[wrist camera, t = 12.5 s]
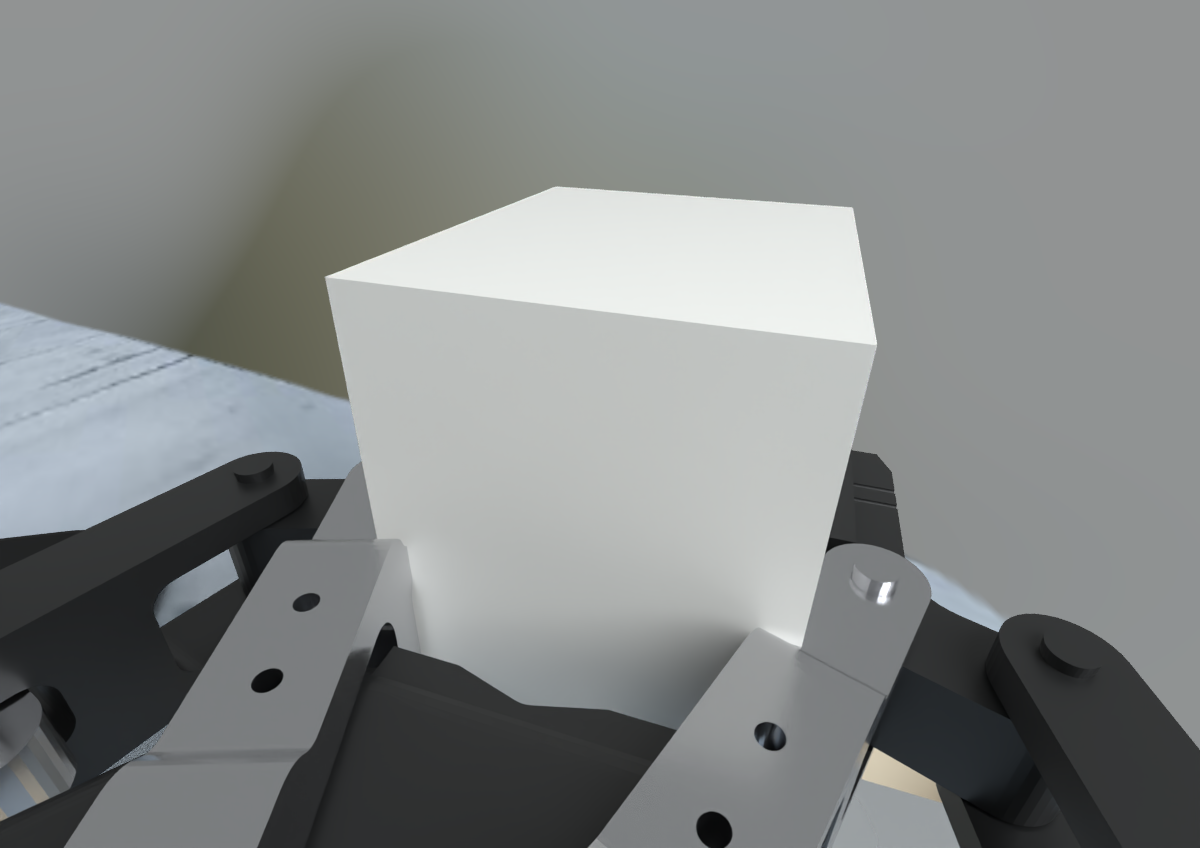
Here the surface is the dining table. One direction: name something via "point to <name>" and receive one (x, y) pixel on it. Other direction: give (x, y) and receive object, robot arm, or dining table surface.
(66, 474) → the dining table surface
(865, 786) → the rail
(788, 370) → the block
